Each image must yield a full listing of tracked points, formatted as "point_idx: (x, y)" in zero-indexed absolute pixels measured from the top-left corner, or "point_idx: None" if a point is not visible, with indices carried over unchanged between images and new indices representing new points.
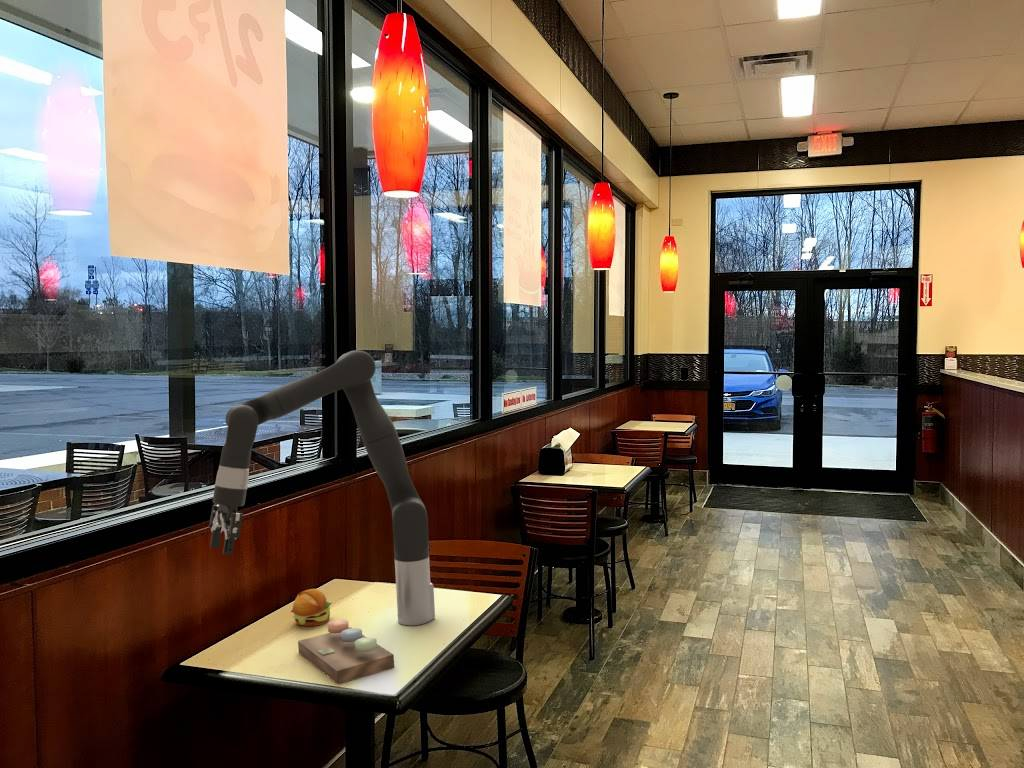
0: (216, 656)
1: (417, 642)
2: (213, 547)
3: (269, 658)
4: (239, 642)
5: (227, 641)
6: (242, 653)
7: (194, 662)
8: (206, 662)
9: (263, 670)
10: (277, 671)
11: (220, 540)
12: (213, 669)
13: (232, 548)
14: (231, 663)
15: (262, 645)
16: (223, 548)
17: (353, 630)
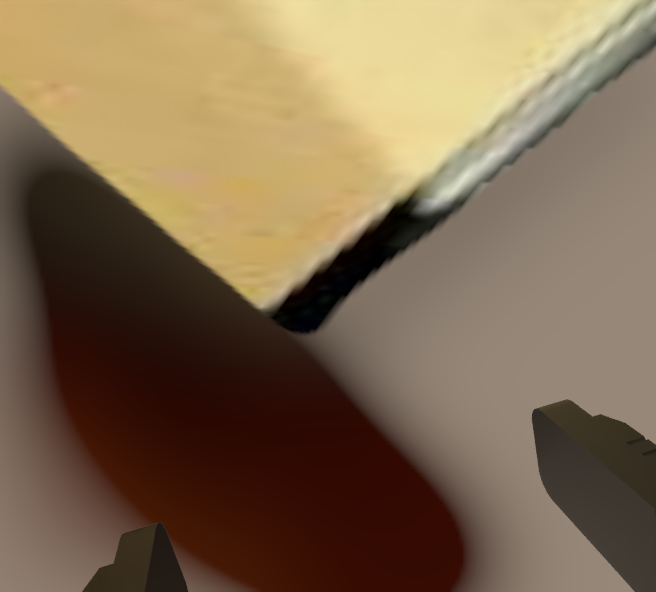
0: (245, 206)
1: None
2: (179, 577)
3: (399, 12)
4: (119, 97)
5: (77, 145)
6: (271, 108)
7: (262, 280)
8: (288, 244)
9: (503, 65)
10: (550, 16)
11: (148, 586)
12: (371, 228)
13: (649, 444)
14: (355, 164)
15: (219, 3)
16: (585, 528)
17: None
